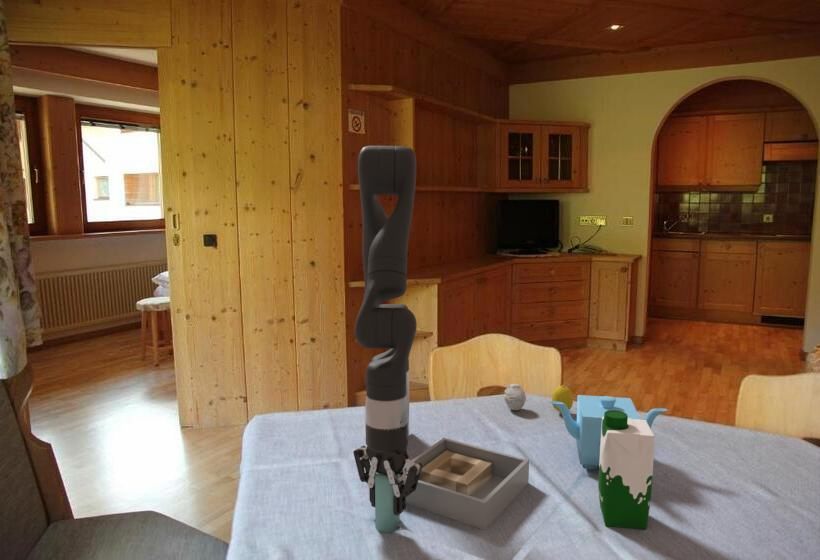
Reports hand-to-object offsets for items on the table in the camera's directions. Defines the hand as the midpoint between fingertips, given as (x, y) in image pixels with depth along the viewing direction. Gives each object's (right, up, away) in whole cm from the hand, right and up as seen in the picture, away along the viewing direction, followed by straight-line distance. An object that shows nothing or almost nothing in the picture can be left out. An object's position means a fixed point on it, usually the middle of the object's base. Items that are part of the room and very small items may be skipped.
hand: (387, 508), depth 108 cm
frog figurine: (+33, +5, +57) cm, 66 cm away
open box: (+14, -2, +11) cm, 18 cm away
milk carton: (+44, -3, +3) cm, 44 cm away
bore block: (+13, 0, +15) cm, 20 cm away
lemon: (+45, +5, +54) cm, 71 cm away
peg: (0, -3, 0) cm, 3 cm away
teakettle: (+48, 0, +25) cm, 54 cm away
